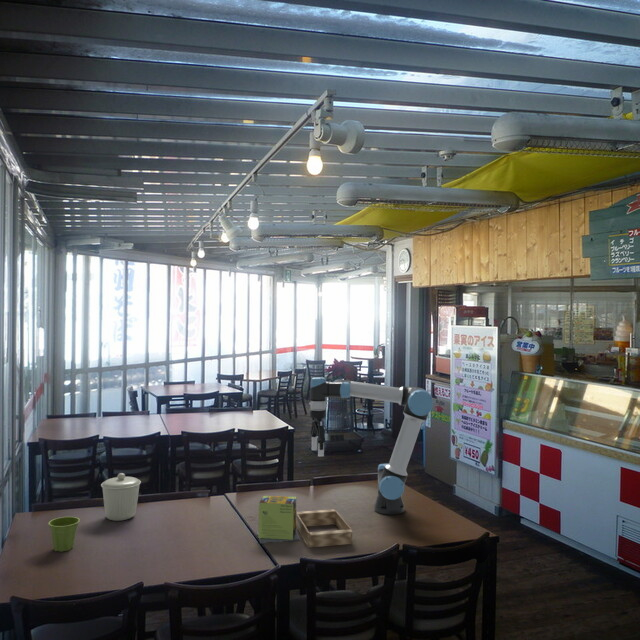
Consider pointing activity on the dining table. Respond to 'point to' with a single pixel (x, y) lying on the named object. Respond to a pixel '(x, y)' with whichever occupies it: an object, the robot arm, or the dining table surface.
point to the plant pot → (63, 532)
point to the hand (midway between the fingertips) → (317, 453)
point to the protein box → (277, 517)
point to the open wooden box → (325, 536)
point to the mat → (263, 540)
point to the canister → (120, 497)
